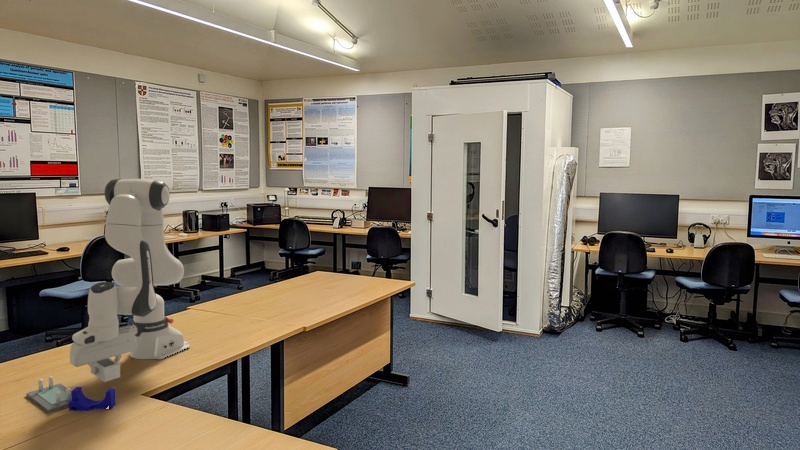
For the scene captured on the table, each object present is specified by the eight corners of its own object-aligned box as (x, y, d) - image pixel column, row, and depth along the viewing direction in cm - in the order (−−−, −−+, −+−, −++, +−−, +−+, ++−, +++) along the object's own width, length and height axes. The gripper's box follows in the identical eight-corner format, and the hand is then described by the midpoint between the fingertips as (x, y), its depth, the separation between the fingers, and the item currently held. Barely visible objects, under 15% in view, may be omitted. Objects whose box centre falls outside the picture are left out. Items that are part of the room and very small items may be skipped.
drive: (106, 368, 183) (105, 355, 182) (120, 377, 177) (119, 364, 176) (90, 372, 179) (90, 359, 178) (104, 382, 173) (104, 368, 172)
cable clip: (69, 411, 164) (68, 393, 163) (77, 404, 168) (76, 386, 168) (108, 412, 165) (108, 394, 164) (115, 405, 169) (115, 387, 168)
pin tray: (60, 386, 180) (59, 372, 179) (83, 401, 170) (82, 387, 169) (26, 396, 172) (25, 381, 171) (48, 413, 162) (47, 397, 161)
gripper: (130, 321, 185) (131, 358, 188) (66, 336, 169) (68, 377, 171) (139, 326, 182) (140, 363, 184) (75, 342, 165) (77, 383, 168)
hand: (105, 370), depth 178 cm, fingers closed on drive, 5 cm apart
